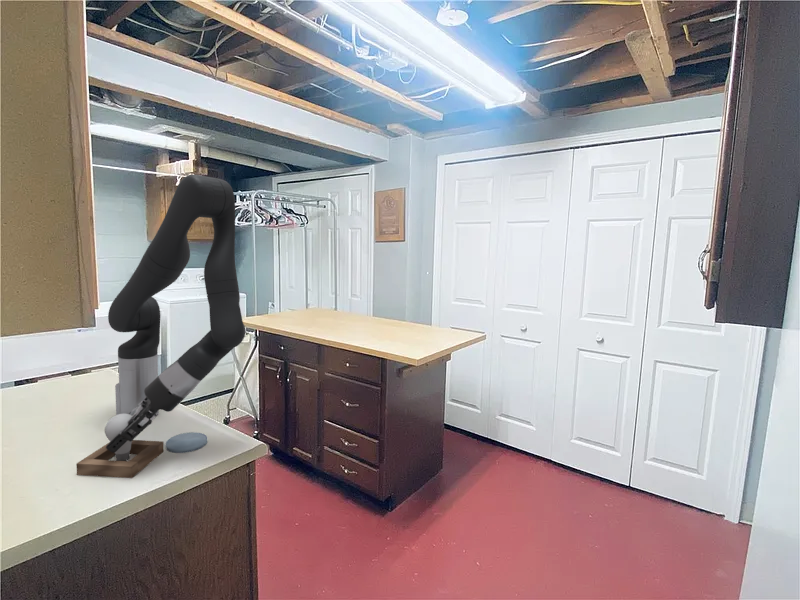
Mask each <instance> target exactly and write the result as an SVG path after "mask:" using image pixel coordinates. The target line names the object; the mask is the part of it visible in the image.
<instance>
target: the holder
mask: <svg viewBox="0 0 800 600" xmlns="http://www.w3.org/2000/svg"><path fill="white" fill-rule="evenodd" d="M108 443H109V442H108ZM108 443H106V444H104V445H103V446H102V447H99V448H98V449H97V450H95V451H93V452H92V453H91V454H89V455H87V456H86V457H84V458H83V459H80V460H79V461H78V462H76V475H77V476H84V477H85V476H90V477H102V478H103V477H105V478H106V477H107V478H122V479H124V478H127V479H133V478H134V477H135V476H136V475H138V474H139V473H140V472H141V471H142V470H144V469H145V468H146V467H147V466H149V465H150V464H151V463H152V462H154V460H156V459H157V458H158V457H159V456H161V455H162V454H164V452H165V450H164V449H165V447H164V441H160V440H139V439H133V440H132V443H131V450H130V455H133V456H134V455H135V456H134V457H131V459H130V460H127V461H116V460H115V459H114V460H111V459H112V458H113V457H116V456H115V453H112V452H111V451H109V450H107V449H106V446H107V444H108Z"/></svg>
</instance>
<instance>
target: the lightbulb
mask: <svg viewBox="0 0 800 600" xmlns="http://www.w3.org/2000/svg"><path fill="white" fill-rule="evenodd" d="M131 416H132V415H130V414H118V415H116V414H115V415H114V416H112V417H110V418H109V419H108V421H107V422H106V424H105V427H104V434H105V436H106V438H107V440H109V442H111V441H112V440H113V439H114V438H115V437H116V436H117V435H118V434H119V433H120V431H121V430H123V429H124V427H125V426H126V425H127V421H128V420H129V419H130V418H131ZM133 422H134V420H133ZM128 432H129V433H131V434H132V433H133V430H132V429H130V430H129V431H128ZM131 443H132V441H131V442H130V441H127V442H126V443H125V444H123V445H122V446H121V447H120V448H119V449H118V450H117V451H116V452H115V456H114V457H115V461H129V459H130V457H131V454H130V450H131Z"/></svg>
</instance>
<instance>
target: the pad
mask: <svg viewBox="0 0 800 600" xmlns="http://www.w3.org/2000/svg"><path fill="white" fill-rule="evenodd" d="M207 443H208V436H207V434H205V433H202V432H197V431H196V432H195V431H190V432H184V433H179V434H175V435H173V436H171V437H170V438H168V439H167V440H166V441H165V449H166V451H168V452H170V453H173V454H174V453H175V454H186V453H192V452H195V451H198V450H200V449H203V448H204V447H205V446H206V445H207Z"/></svg>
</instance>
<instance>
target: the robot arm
mask: <svg viewBox="0 0 800 600" xmlns="http://www.w3.org/2000/svg"><path fill="white" fill-rule="evenodd" d="M235 200H236V199H235V193H234V190H233V187H232V186H231V184H230V183H229V182H228V181H226V180H224V179H222V178H217V177H212V176H206V175H201V174H189V175H186V176H184V178H182V179H181V181H180V182H179V184H178V186H177V187H176V189H175V192H174V194H173V197H172V198H171V201H170V203H169V206H168V208H167V211H166V214H165V216H164V218H163V220H162V222H161V224H160V226H159V228H158V229H157V232H156V233H155V234H154V235H155V236H154V237H153V239H152V240H151V242H150V243H149V245H148V246H147V248H146V250H145V252H144V254H143V256H142V257H141V259H140V261H139V263H138V265H137V267H136V268H135V270H134V272H133V274H132V275H131V277H129V279H128V281H127V283H126V284H125V285H124V286H123V288H122V289H121V290H120V291H119V293H118V294H117V295H116V297H115V298H114V299H113V301H112V303H111V304H110V307H109V309H108V312H107V315H108V316H107V318H108V319H107V320H108V324H109V326H110V327H111V329H112V330H114V331H116V332H118V333H133V332H135V334H134V335H133V336H132V337H131V338H130V339H128V340H127V341H125V342H123V343H121V344H120V345H119V346H118V349H117V359H118V360H117V362H118V363H117V365H118V383H116V384H115V387H114V388H115V389H114V390H115V416H116V415H118V414H130V415H132V416H131V418H130V419H129V420H128V421H127V425H126V426H125V427H124V429H123V430H121V431H120V433H119V434H118V435H117V436H116V437H115V438H114V439H113V440H112V441H111V442H110V441H109V442H108V444H107V443H106V444H107V446H106V449H107V450H109V451H111V452H112V453H115V452H116V451H117V450H118V449H119V448H120V447H121V446H122V445H123V444H125V443H126V442H127V441H130V442H131V441H132V440H135V438H136V437H138V436H139V435H140V434H141V433H142V432H144V430H145V429H147V427H149V426H150V425H151V424H152V423H153V420H154V419H155V418H156V417H157V416H158V414H159V413H160V410H162V411H163V412H172V411H173V410H174V409H175V408H176V407H178V405H180V403H181V402H182V401H184V400H185V398H187V396H189V395H190V393H192V392H193V391H194V390H195V389H196V387H198V385H199V384H200V382H201V381H203V380H204V379H205V378H206V376H208V375H209V374H210V373H211V372H212V371H213V370H214V369H215V367H216V366H217V365H218V364H219V362H220V361H221V360H222V359H223V358H225V356H227V355H228V354H229V353H230V352H231V351H232V350H233V349H234V348H237V347H238V346H239V345H241V344H242V342H243V341H244V339H245V336H246V333H247V332H246V331H247V330H246V326H245V324H244V323H243V316H242V315H243V314H242V312H241V306H240V300H241V298H240V288H239V287H240V286H239V281H238V275H237V269H236V268H237V267H236V266H237V265H236V257H235V256H236V255H235V253H236V252H235V251H236V248H235V246H236V243H235V242H236V241H235V239H236V201H235ZM199 218H208V219H211V221H212V224H213V225H212V226H213V240H212V245H211V246H210V249H209V252H208V255H207V257H206V261H205V264H204V269H203V276H204V278H203V279H204V286H205V292H206V298H207V301H208V306H209V309H208V310H209V325H210V326H209V327H210V330H209V331H208V332H207V333H206V334H205V335H204V336H203V337H202V338H201V339H200V340H199V341H198V342H197V343H195V344H193V346H191V347H189V348H188V350H186V351H185V352H184V353H183V354H182V355H181V356H180V357H179V358H177V359H176V361H174V362H173V363H171V364H170V365H169V366H168V367H166V368H165V369H164V370H163V371H162V372H161V373H160V374H159V364H158V363H159V356H158V355H159V354H158V350H159V345H160V340H161V339H160V338H161V336H160V334H161V308H160V306H159V302H158V301H157V299H155V298H154V297H153V296H155V295H157V294H158V293H160V292H162V291H164V289H167V288H168V287H169V286H171V285H172V284H174V283H175V282H176V281H177V280H178V279H179V278H180V276H181V275H182V273H183V272H184V270H185V268H186V267H187V266H188V263H189V261H190V258H191V251H190V250H191V249H190V244H189V240H188V234H189V231H190V229H191V227H192V225H193V224H194V223H195V221H196V220H197V219H199ZM133 420H134V422H133ZM130 429H132V430H133V433H132V434H131V433H129V432H128V431H129V430H130Z"/></svg>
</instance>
